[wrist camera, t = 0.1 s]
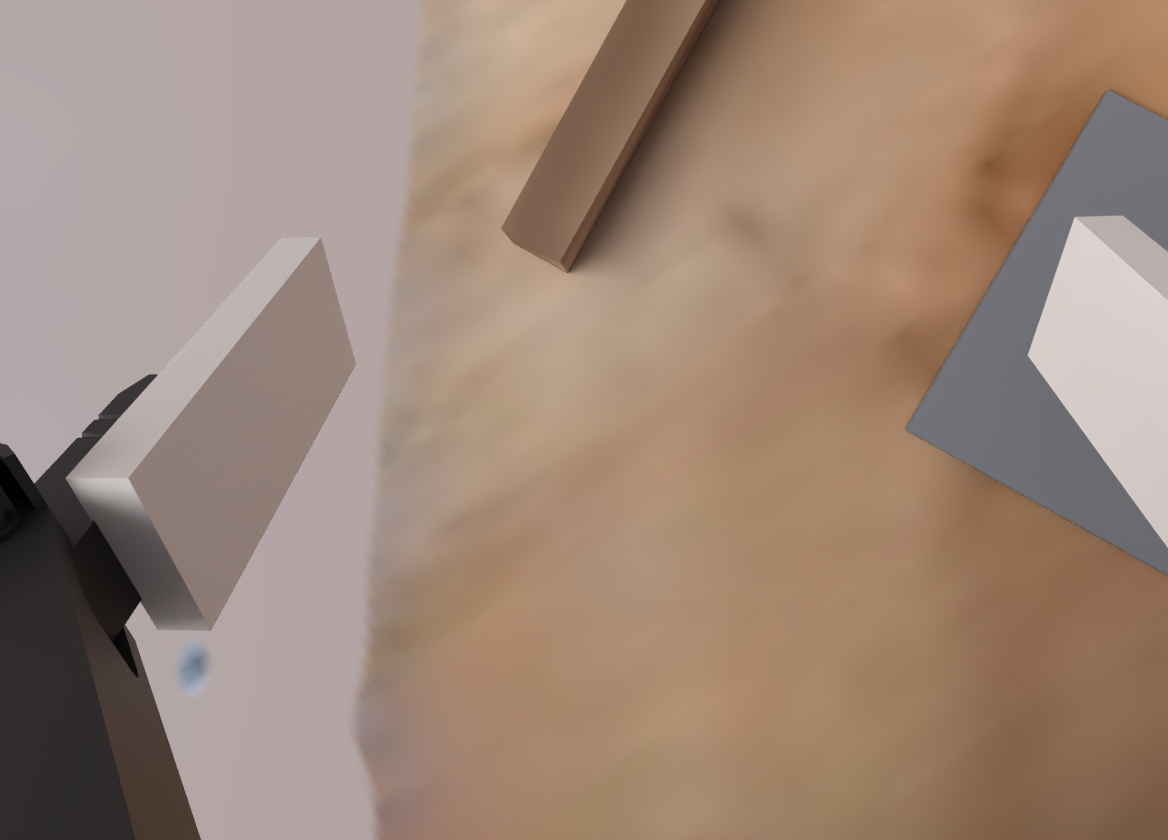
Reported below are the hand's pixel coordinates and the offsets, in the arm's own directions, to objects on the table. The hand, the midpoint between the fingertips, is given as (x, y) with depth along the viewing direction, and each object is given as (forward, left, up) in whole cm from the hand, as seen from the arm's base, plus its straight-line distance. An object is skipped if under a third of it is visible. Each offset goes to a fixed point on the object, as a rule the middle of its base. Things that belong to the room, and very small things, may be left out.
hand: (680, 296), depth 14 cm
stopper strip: (+11, +1, -15) cm, 19 cm away
